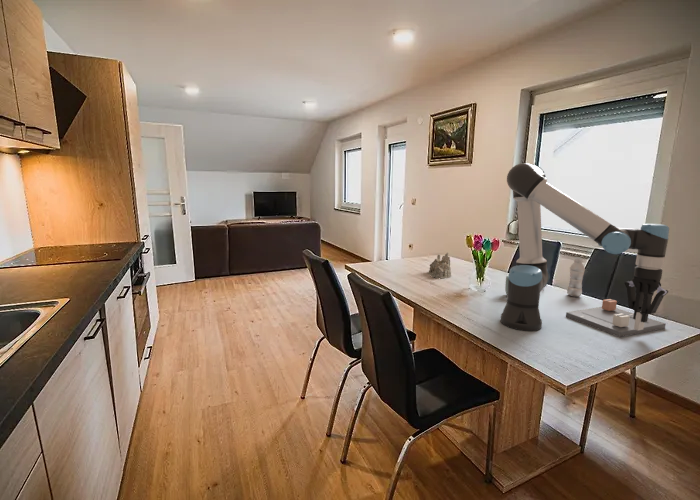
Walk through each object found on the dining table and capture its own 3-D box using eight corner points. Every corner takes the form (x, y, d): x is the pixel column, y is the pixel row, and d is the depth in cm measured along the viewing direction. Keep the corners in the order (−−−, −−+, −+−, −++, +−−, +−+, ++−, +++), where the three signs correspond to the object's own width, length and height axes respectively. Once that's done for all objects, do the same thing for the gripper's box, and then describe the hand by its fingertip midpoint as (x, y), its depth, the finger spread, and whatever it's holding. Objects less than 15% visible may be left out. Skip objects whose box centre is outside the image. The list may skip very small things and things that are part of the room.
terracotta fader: (608, 310, 149) (609, 301, 148) (601, 308, 151) (602, 299, 151) (615, 309, 150) (617, 300, 149) (608, 307, 153) (609, 298, 152)
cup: (523, 299, 172) (524, 279, 170) (506, 298, 173) (508, 278, 172) (518, 294, 179) (520, 275, 178) (502, 293, 181) (504, 275, 179)
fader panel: (619, 337, 128) (620, 331, 128) (565, 316, 148) (566, 311, 148) (664, 328, 136) (665, 323, 136) (608, 309, 157) (608, 305, 156)
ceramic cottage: (434, 270, 230) (435, 249, 226) (456, 276, 218) (457, 253, 214) (420, 275, 220) (420, 253, 216) (441, 282, 208) (443, 258, 204)
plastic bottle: (575, 294, 180) (580, 256, 177) (584, 298, 173) (589, 259, 170) (563, 294, 180) (567, 256, 176) (572, 298, 173) (576, 259, 170)
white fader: (620, 327, 131) (622, 317, 130) (612, 324, 134) (613, 314, 133) (628, 325, 132) (629, 315, 132) (620, 322, 135) (621, 313, 135)
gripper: (677, 270, 118) (665, 334, 122) (636, 262, 130) (626, 321, 134) (663, 272, 116) (651, 337, 120) (622, 264, 128) (613, 323, 132)
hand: (638, 329), depth 127 cm, fingers closed
